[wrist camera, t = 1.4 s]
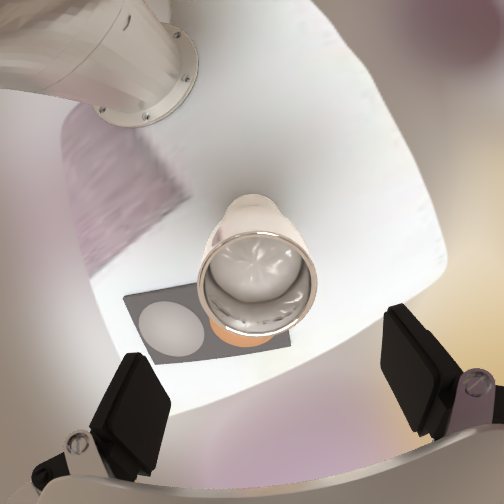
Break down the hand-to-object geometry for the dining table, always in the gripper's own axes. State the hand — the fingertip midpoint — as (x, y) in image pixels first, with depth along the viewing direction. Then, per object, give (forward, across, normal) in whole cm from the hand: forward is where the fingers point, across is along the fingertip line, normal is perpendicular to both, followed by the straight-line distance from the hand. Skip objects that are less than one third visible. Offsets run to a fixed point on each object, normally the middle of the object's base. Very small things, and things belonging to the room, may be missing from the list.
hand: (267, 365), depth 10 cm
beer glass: (+21, 0, 0) cm, 21 cm away
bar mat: (+21, +8, +10) cm, 24 cm away
